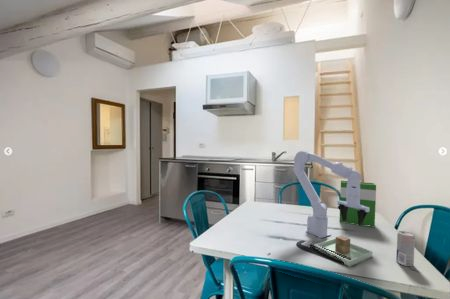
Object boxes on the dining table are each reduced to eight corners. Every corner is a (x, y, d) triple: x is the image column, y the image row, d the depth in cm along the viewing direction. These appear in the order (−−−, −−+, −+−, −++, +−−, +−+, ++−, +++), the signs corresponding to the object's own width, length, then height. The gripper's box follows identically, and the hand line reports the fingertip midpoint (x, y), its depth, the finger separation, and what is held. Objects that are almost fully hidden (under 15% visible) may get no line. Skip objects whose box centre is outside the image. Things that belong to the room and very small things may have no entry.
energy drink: (405, 260, 92) (407, 230, 91) (417, 267, 86) (418, 236, 86) (392, 260, 92) (394, 230, 91) (403, 267, 86) (405, 236, 86)
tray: (314, 249, 99) (314, 244, 99) (336, 241, 107) (336, 237, 107) (349, 267, 86) (349, 261, 86) (372, 256, 94) (372, 251, 94)
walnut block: (335, 250, 97) (335, 236, 97) (340, 248, 99) (341, 235, 99) (344, 254, 94) (344, 240, 94) (349, 252, 96) (350, 238, 96)
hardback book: (339, 221, 136) (341, 182, 135) (339, 218, 142) (340, 180, 142) (374, 227, 128) (376, 185, 127) (372, 223, 135) (374, 183, 134)
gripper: (373, 197, 105) (372, 226, 106) (343, 191, 118) (342, 217, 118) (365, 199, 102) (364, 228, 102) (335, 192, 114) (334, 219, 115)
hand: (352, 222), depth 110 cm, fingers open, 7 cm apart
